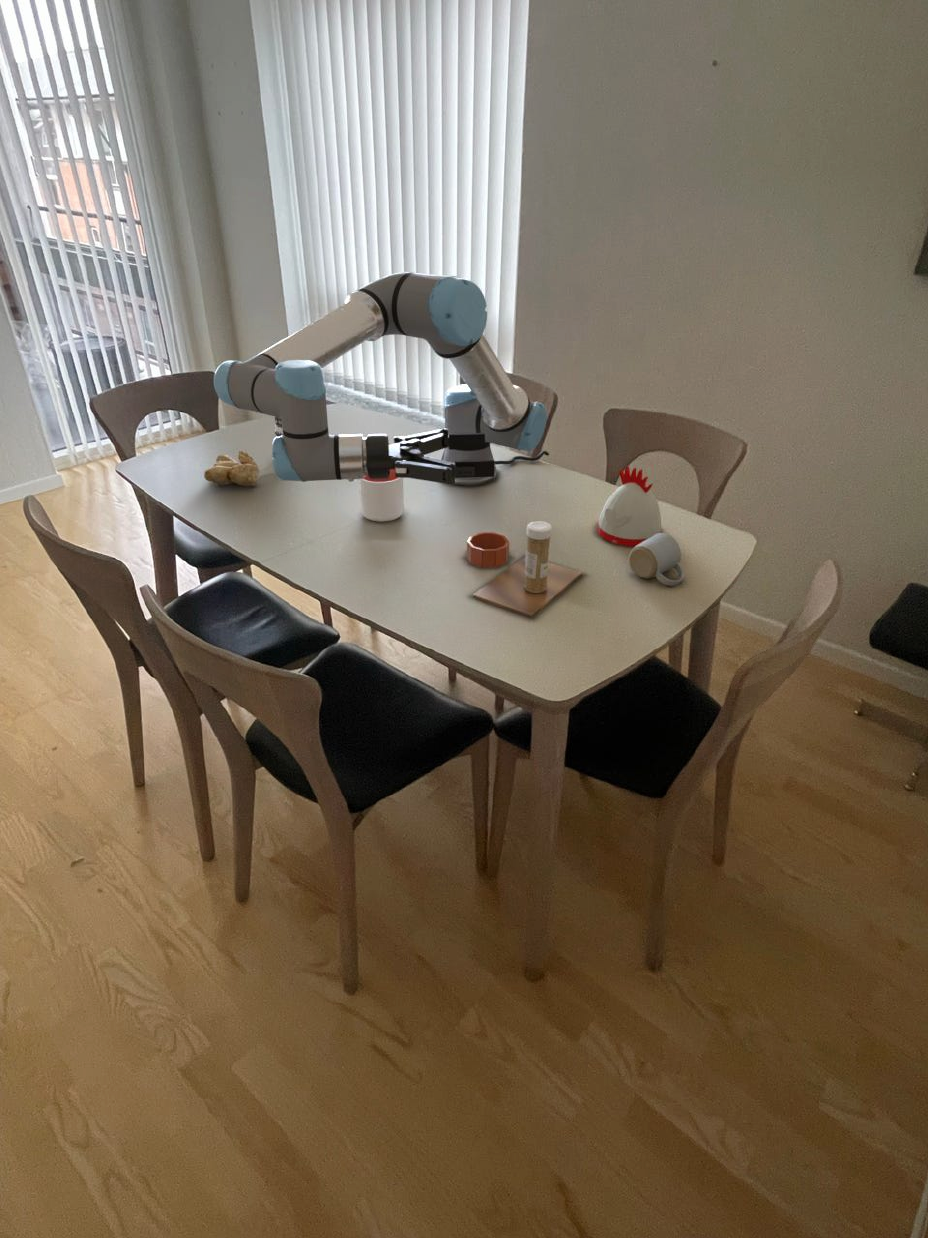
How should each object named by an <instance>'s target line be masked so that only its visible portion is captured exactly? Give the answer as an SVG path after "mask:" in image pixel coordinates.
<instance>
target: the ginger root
mask: <svg viewBox="0 0 928 1238" xmlns="http://www.w3.org/2000/svg"><path fill="white" fill-rule="evenodd" d="M237 458H238V461H239V462H237V461H236V460H235V459H233V458H232V457H231V456H230V455H228V454H219V455H218V456H217V458H216V459H215V461H216V462H215V463H214V464H213V466H211V467H208V468H207V469H205V471H204V474H203V478H204V479H205V480H206V481H208V482H211V483H213V484H216V485H227V484H231V483H234V484H237V485H239V486H245V487H251V486H254V485H255V484H256V483H257V481H258V479H259V474H260V469H259V465H258V464H257V462H256V461H255V459H254V458H253V456H250V455H249V453H248V452H247V451H243V450H239V451H238V457H237Z"/></svg>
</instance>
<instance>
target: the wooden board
mask: <svg viewBox="0 0 928 1238" xmlns="http://www.w3.org/2000/svg"><path fill="white" fill-rule="evenodd" d="M525 564H526V555H525V556H524V557H523V558H521V559H520V560H518V561H517V562H515V564H512V565H511V566H510V567H508V568H507V569H506V570H504V571H503V572H502V573H500V574H499V575H497V577H495V578H494V579H493V580H491V581H490V582H488V583H486V585H484V586H483V587H481V588H480V589H479V590H478V591H476V592H474V593H473V595H472V597H473V598H474V599H477V600H479V601H483V602H486V603H489V604H492V605H493V606H496V607H498V608H499V607H500V608H502V609H506V610H508V611H511V612H512V613H517V614H519V615H522V616H524V617H527V618H530V619H533V618H534V617H535V616H536V615H537V614H538V613H539V612H541V611H542V610H543V609H544V608H545V607H547V606H548V605H549V604H550V603H551V602H552V601H553V600H555V599H556V598H557V597H558V596H560V594H561V593H563V592H564V591H565V590H566V589H568V588H569V587H570V586H571V585H572V584H574V583H575V582H576V581H577V580H578V579H579V578H580V577H581V576H582V575H583V572H581V571H578V570H575V569H571V568H568V567H565V566H563V565H559V564H556V563H552V562H549V561H548V574H547V589H546V590H545V591H544V592H542V593H531V592H528V591H527V590H525V588H524V584H525Z"/></svg>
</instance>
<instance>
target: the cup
mask: <svg viewBox="0 0 928 1238" xmlns="http://www.w3.org/2000/svg"><path fill="white" fill-rule="evenodd" d="M358 485H359V486H358V487H359V497H360V499H359V500H360V511H361V514H362V516H363V517H364V518H366V519H368V520H370V521H374V522H383V523H384V522H391V521H394V520H397V519H398V518H400V517H401V516H402V515H403V514H404V511H405V493H404V478H398V477H395V469H390V477H389V478H388V479H371V478H369V476H368V475H365V478H364V479H358Z"/></svg>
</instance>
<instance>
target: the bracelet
mask: <svg viewBox="0 0 928 1238" xmlns="http://www.w3.org/2000/svg"><path fill="white" fill-rule="evenodd" d="M509 554H510V540H509V539H508V538H507V537H506V536H505V535H503V534H500V533H497V532H494V531H493V532H491V531H490V532H478V533H475V534H472V535H470V536H469V538H468V539H467V541H466V560H467V561H468V562H469V563H470V565H473V566H474V567H475V566H476V567H478V568H483V569H493V568H494V569H495V568H498V567H501V566H504V565H506V564H507V562H508V561H509V557H510V555H509Z"/></svg>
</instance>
